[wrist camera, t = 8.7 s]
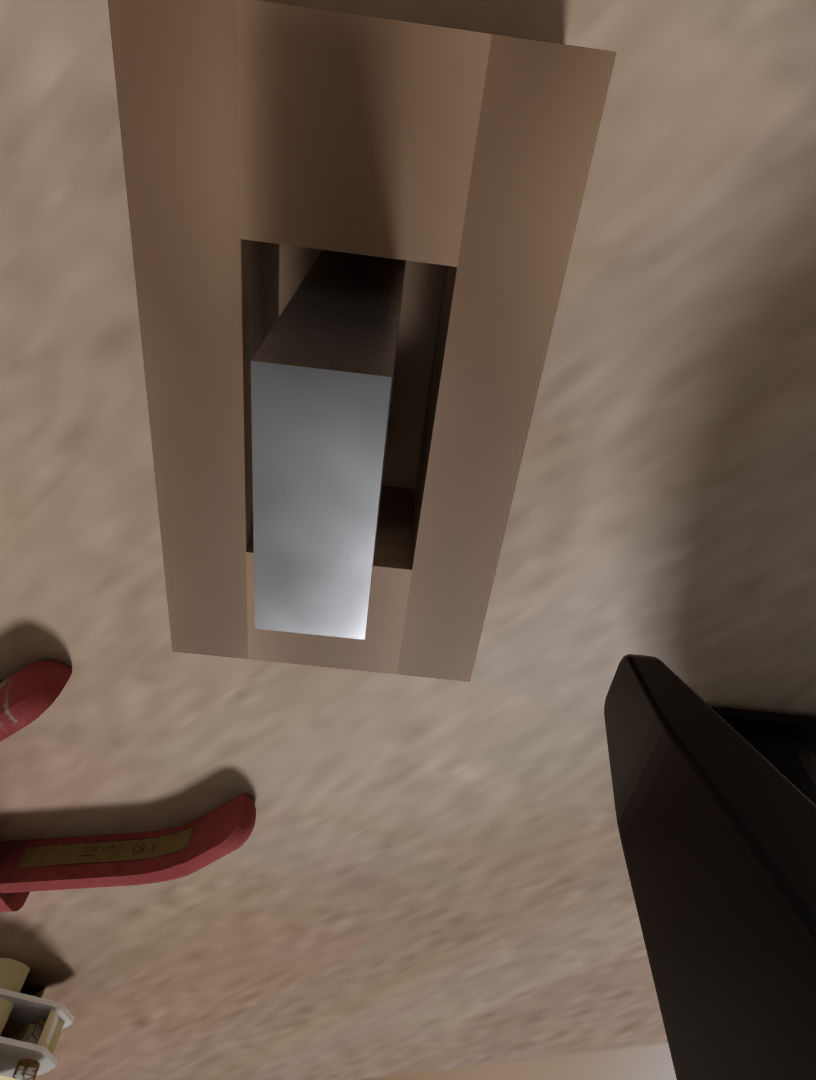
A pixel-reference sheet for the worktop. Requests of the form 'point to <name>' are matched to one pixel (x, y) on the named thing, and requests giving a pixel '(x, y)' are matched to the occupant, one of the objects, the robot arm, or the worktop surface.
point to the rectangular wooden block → (359, 228)
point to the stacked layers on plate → (27, 1025)
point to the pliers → (103, 860)
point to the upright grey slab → (323, 444)
